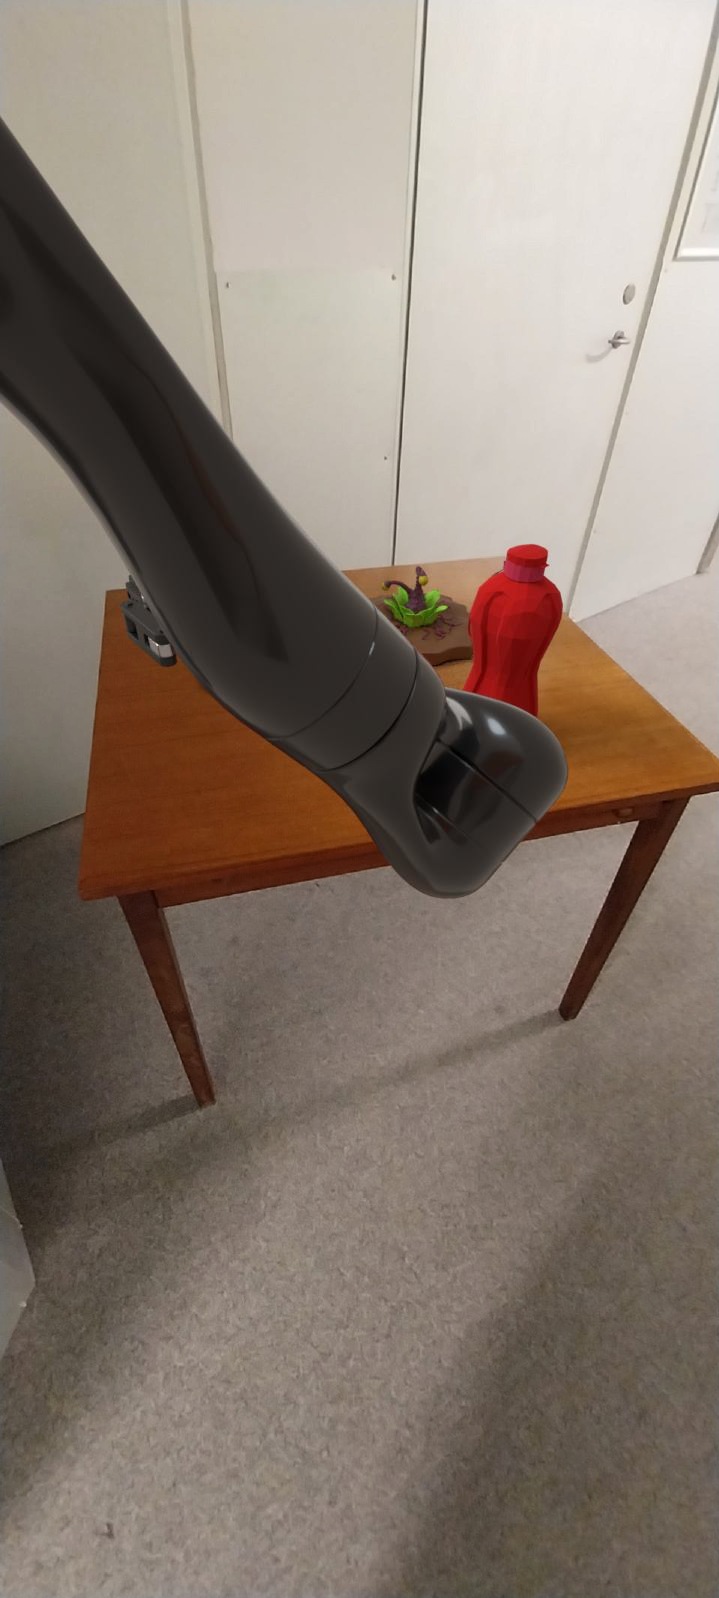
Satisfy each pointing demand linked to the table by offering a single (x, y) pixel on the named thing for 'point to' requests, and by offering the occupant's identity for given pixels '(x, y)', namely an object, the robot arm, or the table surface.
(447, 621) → the plant
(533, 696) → the water bottle
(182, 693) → the table surface
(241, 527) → the robot arm
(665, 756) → the table surface
